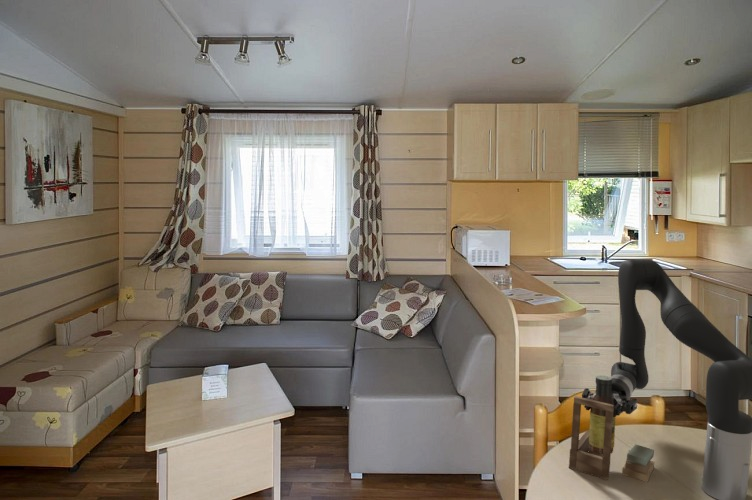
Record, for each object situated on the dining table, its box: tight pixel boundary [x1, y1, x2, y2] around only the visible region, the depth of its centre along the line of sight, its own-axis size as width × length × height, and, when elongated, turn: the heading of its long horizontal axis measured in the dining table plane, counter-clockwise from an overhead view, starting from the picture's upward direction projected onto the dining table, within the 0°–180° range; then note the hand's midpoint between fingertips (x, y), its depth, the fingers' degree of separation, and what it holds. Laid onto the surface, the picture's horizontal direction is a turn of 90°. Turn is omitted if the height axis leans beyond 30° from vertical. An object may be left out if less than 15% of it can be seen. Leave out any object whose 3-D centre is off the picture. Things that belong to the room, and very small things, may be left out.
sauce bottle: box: [588, 375, 616, 456], centre depth 145 cm, size 6×6×20 cm
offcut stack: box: [621, 444, 655, 483], centre depth 144 cm, size 6×9×5 cm
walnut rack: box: [568, 395, 614, 481], centre depth 148 cm, size 10×15×20 cm, turn 144°
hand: (600, 409), depth 143 cm, fingers closed on sauce bottle, 6 cm apart
